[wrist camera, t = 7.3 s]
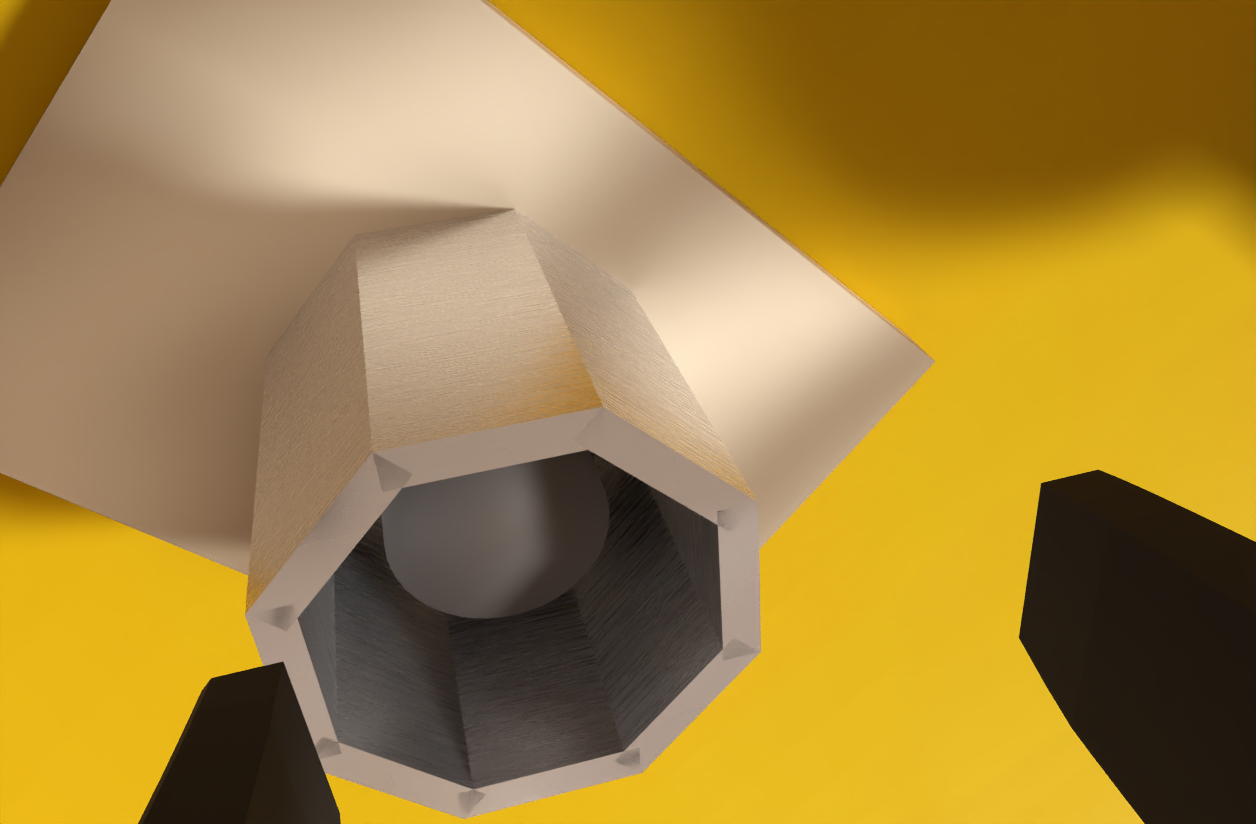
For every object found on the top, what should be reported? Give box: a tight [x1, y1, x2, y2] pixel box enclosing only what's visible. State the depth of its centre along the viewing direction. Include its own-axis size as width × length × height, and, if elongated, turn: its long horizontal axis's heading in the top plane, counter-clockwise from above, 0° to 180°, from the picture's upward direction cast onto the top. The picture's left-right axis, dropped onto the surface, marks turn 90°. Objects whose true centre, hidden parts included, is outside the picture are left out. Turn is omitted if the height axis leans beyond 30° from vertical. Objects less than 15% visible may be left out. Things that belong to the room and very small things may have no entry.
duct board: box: [0, 0, 935, 619], centre depth 16 cm, size 14×10×5 cm
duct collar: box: [245, 209, 761, 819], centre depth 15 cm, size 6×6×6 cm
